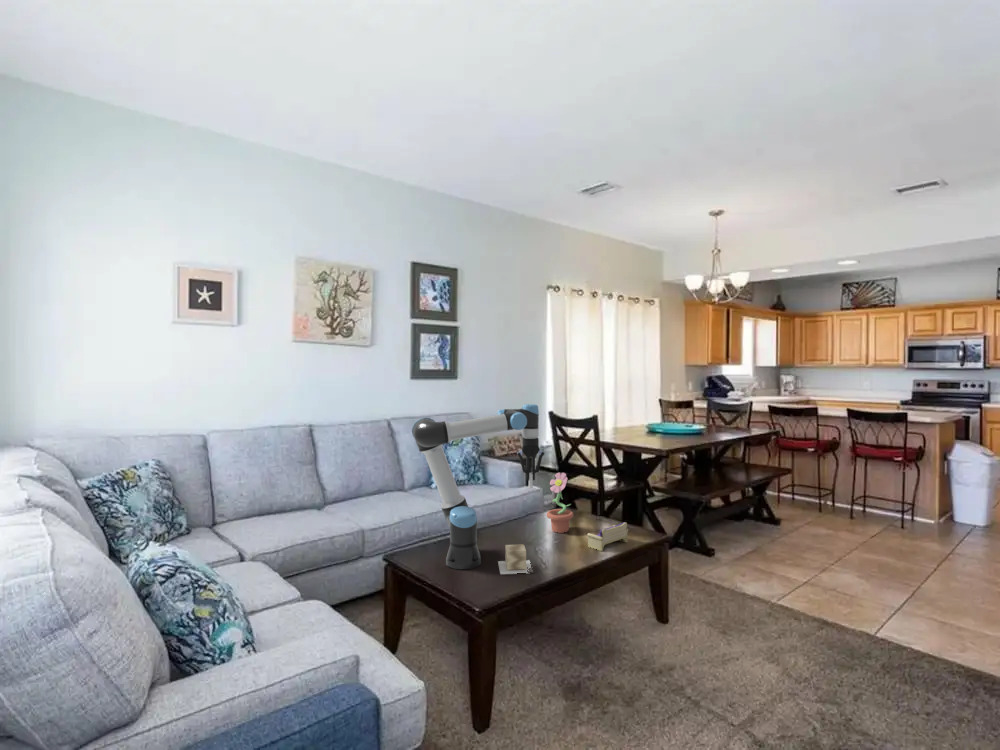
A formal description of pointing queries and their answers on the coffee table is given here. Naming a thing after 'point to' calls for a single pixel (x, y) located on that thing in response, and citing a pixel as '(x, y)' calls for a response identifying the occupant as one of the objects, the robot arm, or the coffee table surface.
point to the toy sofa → (608, 536)
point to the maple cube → (515, 557)
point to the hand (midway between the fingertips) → (530, 487)
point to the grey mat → (504, 570)
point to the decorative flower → (560, 515)
